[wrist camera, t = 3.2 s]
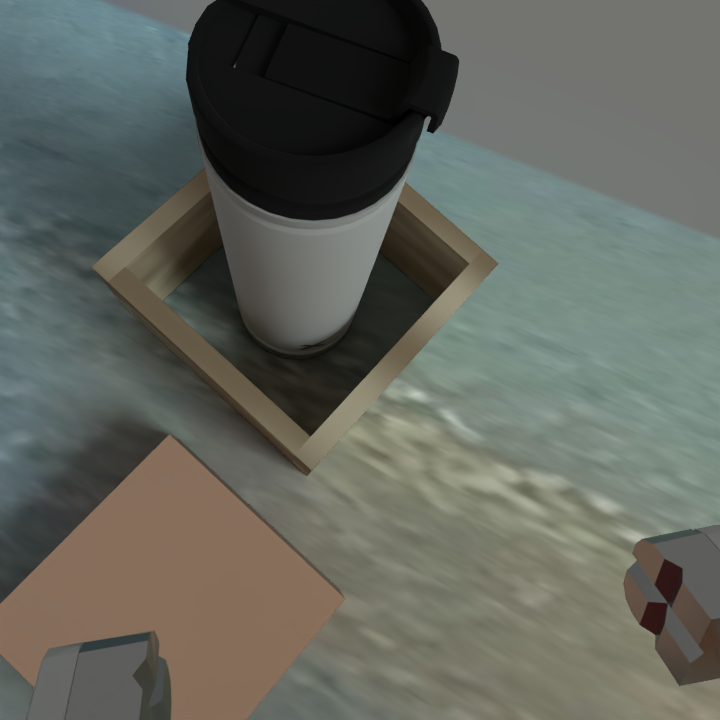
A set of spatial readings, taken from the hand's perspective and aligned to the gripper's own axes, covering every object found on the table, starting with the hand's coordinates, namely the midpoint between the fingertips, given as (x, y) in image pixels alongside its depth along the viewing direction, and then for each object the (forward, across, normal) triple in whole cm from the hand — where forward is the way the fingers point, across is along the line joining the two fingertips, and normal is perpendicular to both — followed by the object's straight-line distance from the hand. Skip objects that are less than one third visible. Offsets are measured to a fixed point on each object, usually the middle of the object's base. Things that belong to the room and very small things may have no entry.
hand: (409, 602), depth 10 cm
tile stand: (+14, +8, +16) cm, 23 cm away
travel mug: (+24, 0, +7) cm, 25 cm away
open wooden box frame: (+24, 0, +6) cm, 24 cm away
